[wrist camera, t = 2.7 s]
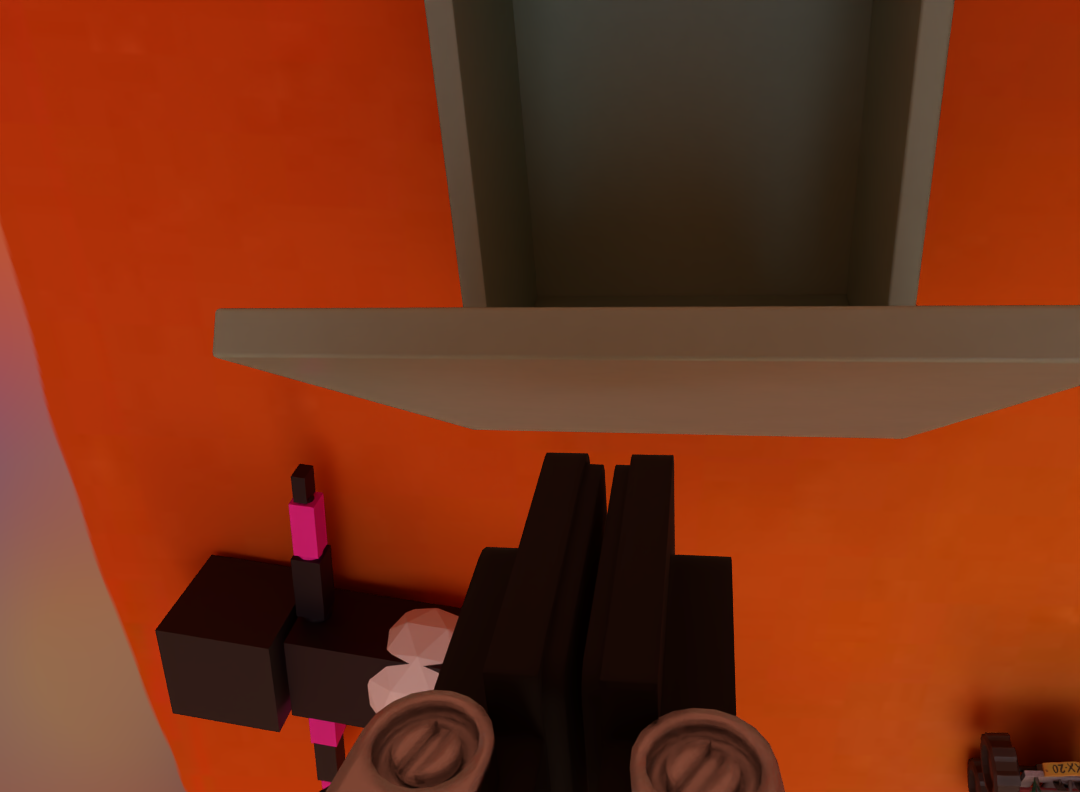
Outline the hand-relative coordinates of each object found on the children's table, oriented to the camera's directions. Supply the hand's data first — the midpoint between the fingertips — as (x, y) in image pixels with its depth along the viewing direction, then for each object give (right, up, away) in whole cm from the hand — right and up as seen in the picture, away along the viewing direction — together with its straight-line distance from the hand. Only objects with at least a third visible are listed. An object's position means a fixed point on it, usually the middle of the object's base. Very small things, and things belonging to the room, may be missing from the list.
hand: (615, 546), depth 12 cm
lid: (+2, +2, +9) cm, 10 cm away
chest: (+4, +13, +21) cm, 25 cm away
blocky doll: (-6, -10, +36) cm, 38 cm away
